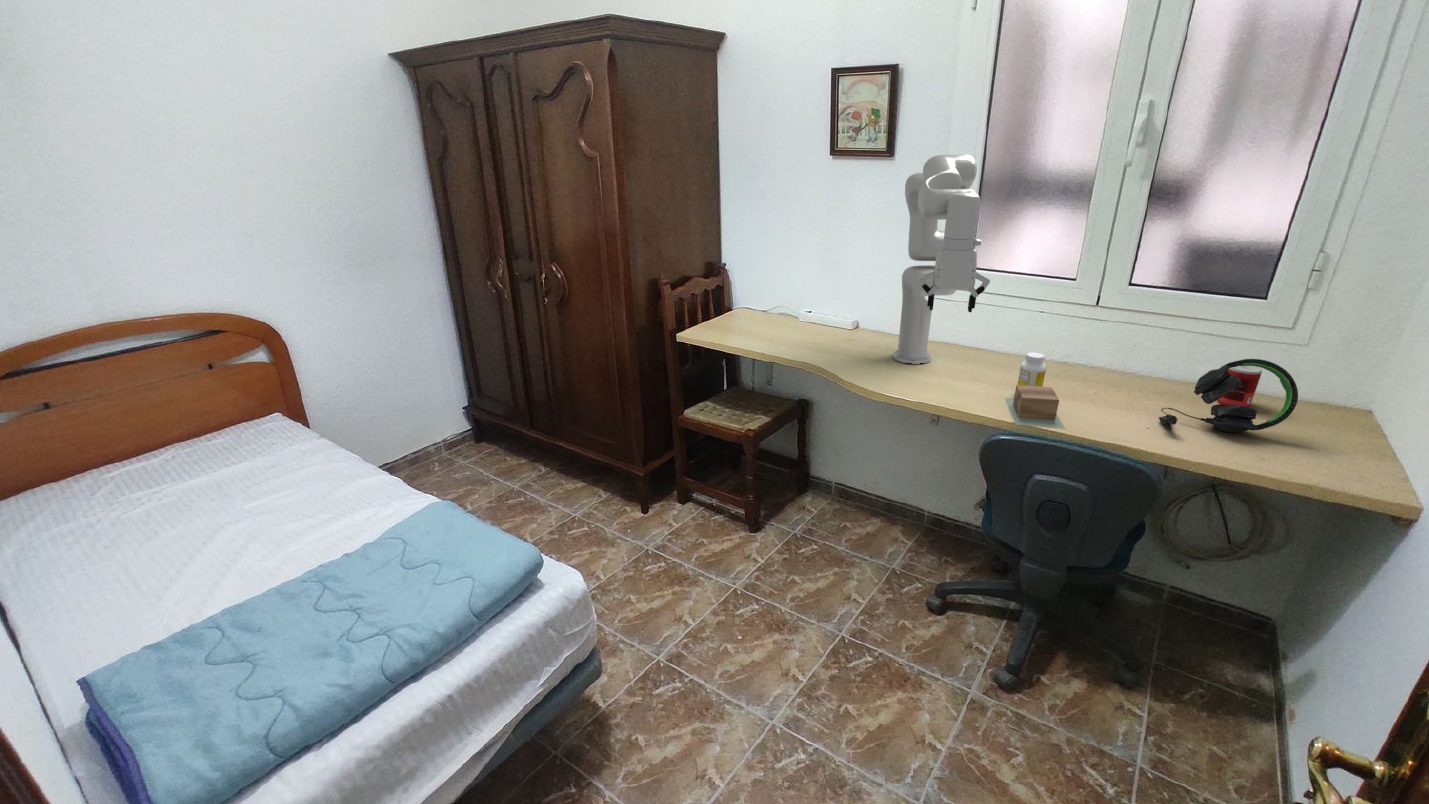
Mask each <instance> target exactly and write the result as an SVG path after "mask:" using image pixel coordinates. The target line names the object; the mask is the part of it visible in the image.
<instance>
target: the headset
mask: <svg viewBox="0 0 1429 804" xmlns="http://www.w3.org/2000/svg"><path fill="white" fill-rule="evenodd" d="M1237 366H1256V367H1260V368H1261V369H1264V370H1266V371H1268V372H1270V373H1272V374H1274V375H1275V376H1276V377H1277V378H1278V379H1279V382H1280V383H1281V386H1282V389H1283V390H1284V391H1285V400H1284V403H1283V407H1282V409H1281V410H1280V411H1279V413H1277V415H1275V416H1273V417H1272V418H1270V419H1267V420H1266V421H1265V422H1263V423H1259V424H1254V422H1253V421H1254V420H1256V419H1257V413H1258V412H1257V409H1255V408H1254V407H1251V406H1249V407H1246V406H1240V405H1224V404H1220V403H1218V404H1214V405H1211V407H1210V416H1213V417H1206V418H1202V417H1196V416H1191V415H1189V414H1186V413H1184V412H1182V411H1179V410H1178V409H1175V408H1172V407H1163V408H1161V409H1160V410H1161V412H1162V413H1163V414H1165V415H1164V416H1159V417H1158V419H1159V422H1160V423H1161V425H1163V426H1165V427H1166V429H1167V430H1169V431H1171V432H1173V428H1172V426H1173V425H1174V426H1175V425H1176V424H1177V422H1178V418H1177V416H1175V415H1172V414H1170V413H1166V412H1165V411H1163V410H1165V409H1168V410H1172V411H1175V412H1177V413H1179V414H1182V415H1184V416H1186V417H1188V418H1192V419H1196V420H1200V421H1203V422H1205V423H1206V424H1210V425H1212V426H1214V427H1215V428H1217V429H1218V430H1220V431H1222V432H1226V433H1227V432H1228V433H1236V434H1237V433H1238V434H1240V433H1243V432H1246V431H1261V430H1265V429H1268V428H1271V427H1274V426H1276V425H1279V424H1280V423H1282V422H1284V421H1285V420H1286V419H1287V418H1288V417H1290V416H1291V414H1292V413H1293V412H1294V410H1295V408H1296V406H1297V404H1298V400H1299V390H1298V386H1297V383H1296V382H1295V379H1294V378H1293V376H1292V375H1291V374H1290V372H1288V371H1287V370H1286V369H1285V368H1283V367H1282V366H1280V365H1278V364H1276V363H1275V362H1272V361H1270V360H1265V359H1259V358H1245V359H1240V360H1236V361H1235V360H1234V361H1230V362H1228V363H1225V364H1224V365H1222V366H1220V367H1219V368H1216V369H1211V370H1209V371H1208V372H1206V373H1204V374H1203V375H1202V376H1200V377H1199V378H1198V380H1197V382H1196V384H1195V387H1194V391H1193V393H1194V394H1195V395H1196V396H1199V395H1200V394H1201V396H1200V398H1201V399H1202V401H1203V402H1204V403H1205V404H1208V405H1210V404H1213V403H1214V402H1218V401H1217V400H1218V399H1220V398H1221V397H1223V396H1224V395H1225V394H1226V393H1228V392H1229V391H1231V390H1234V389H1236V388H1237V387H1238V386H1239V385H1240V384H1241V380H1240V379H1239V378H1238V377H1237V376H1235V374H1234V375H1230V373H1229V372H1228V370H1229V368H1232V367H1237Z"/></svg>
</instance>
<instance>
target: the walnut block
mask: <svg viewBox="0 0 1429 804" xmlns="http://www.w3.org/2000/svg"><path fill="white" fill-rule="evenodd" d="M1059 403H1060V399H1059V397H1058V395H1057V394H1056V392H1055V390H1054V389H1053V387H1051V386H1043V387H1041V386H1026V385H1017V384H1016V387H1015V391H1014V402H1013V406H1014V408H1015V410H1016V413H1017V415H1018V417H1019V418H1027V419H1040V420H1054V421H1055V418H1056V413H1057V412H1058V407H1059ZM1057 414H1058V413H1057Z"/></svg>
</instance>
